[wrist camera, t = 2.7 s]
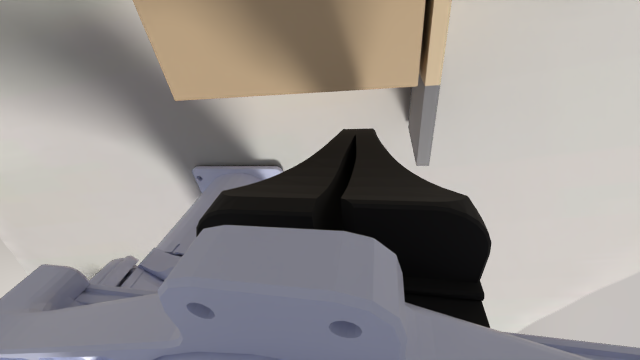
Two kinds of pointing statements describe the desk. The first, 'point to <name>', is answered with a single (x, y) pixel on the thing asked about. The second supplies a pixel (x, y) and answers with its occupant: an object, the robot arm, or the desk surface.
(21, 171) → the desk surface
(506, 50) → the desk surface
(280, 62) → the carton
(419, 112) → the carton flap
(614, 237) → the desk surface
